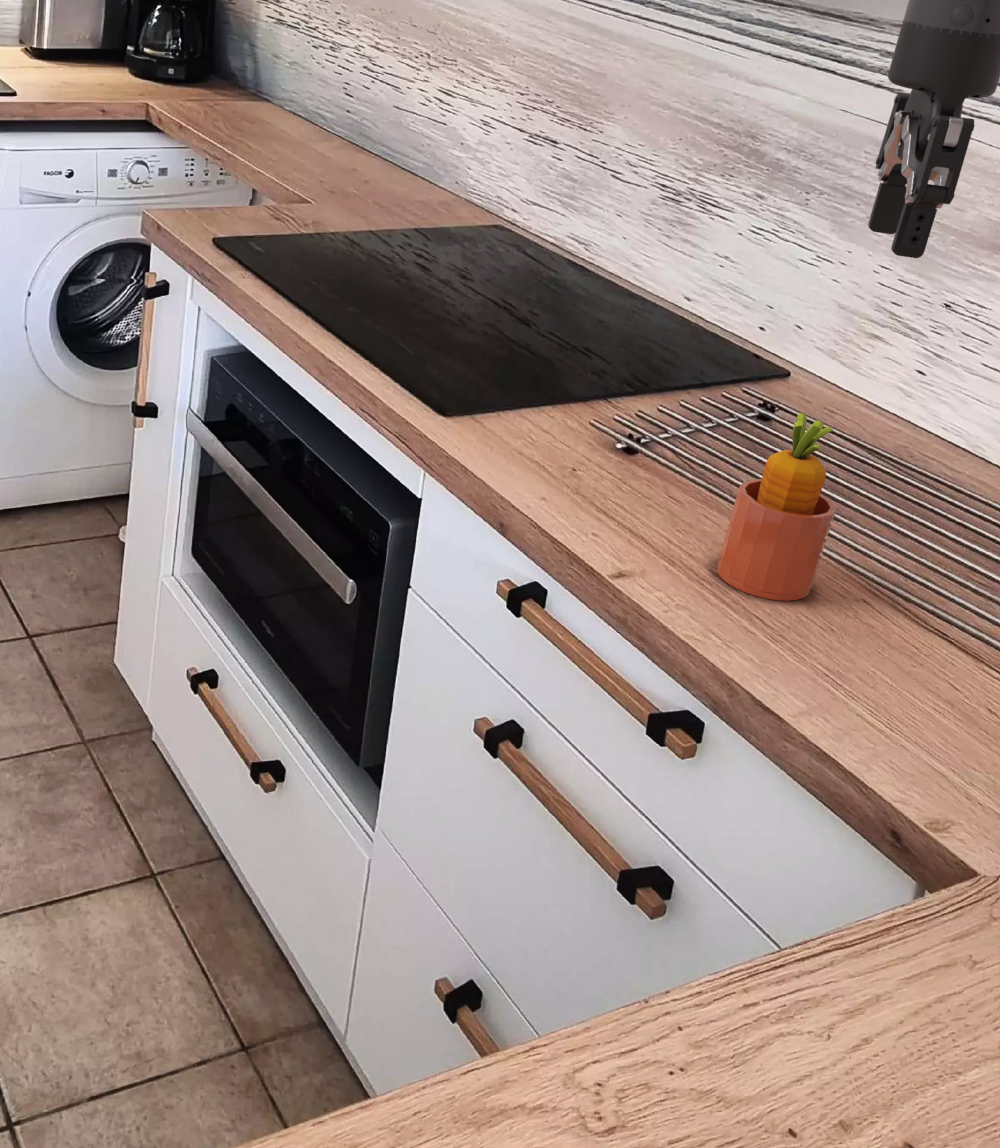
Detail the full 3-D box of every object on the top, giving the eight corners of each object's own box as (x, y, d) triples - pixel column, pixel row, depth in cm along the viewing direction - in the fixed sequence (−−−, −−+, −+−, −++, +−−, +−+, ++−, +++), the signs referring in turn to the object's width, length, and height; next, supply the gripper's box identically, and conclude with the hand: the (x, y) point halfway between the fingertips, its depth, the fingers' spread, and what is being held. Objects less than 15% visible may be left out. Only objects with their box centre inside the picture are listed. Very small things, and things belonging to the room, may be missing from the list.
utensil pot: (801, 568, 137) (826, 488, 133) (816, 607, 130) (843, 523, 126) (712, 553, 138) (734, 473, 134) (722, 591, 130) (746, 507, 127)
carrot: (740, 556, 136) (786, 400, 129) (796, 572, 134) (845, 415, 128) (731, 576, 132) (777, 416, 125) (789, 592, 130) (839, 431, 124)
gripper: (1042, 38, 102) (967, 272, 109) (985, 20, 115) (921, 231, 122) (929, 24, 103) (861, 257, 110) (885, 8, 116) (827, 218, 123)
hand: (893, 243), depth 116 cm, fingers open, 8 cm apart
